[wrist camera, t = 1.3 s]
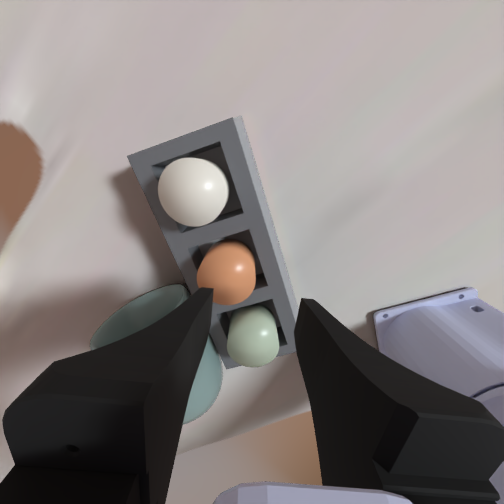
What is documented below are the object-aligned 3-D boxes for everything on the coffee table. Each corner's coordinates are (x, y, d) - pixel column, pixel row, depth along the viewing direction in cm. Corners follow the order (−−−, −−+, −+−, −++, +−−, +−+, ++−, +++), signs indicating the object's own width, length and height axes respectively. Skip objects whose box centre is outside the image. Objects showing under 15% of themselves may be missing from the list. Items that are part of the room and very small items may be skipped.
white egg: (218, 150, 16) (211, 147, 13) (237, 207, 17) (234, 215, 14) (164, 169, 16) (146, 170, 14) (187, 223, 18) (174, 234, 15)
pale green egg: (268, 297, 20) (270, 319, 17) (280, 334, 21) (285, 360, 18) (223, 309, 20) (219, 333, 18) (238, 345, 22) (236, 372, 19)
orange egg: (245, 232, 18) (244, 244, 15) (261, 277, 19) (263, 296, 16) (197, 247, 18) (187, 262, 16) (215, 290, 20) (209, 311, 17)
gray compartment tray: (241, 117, 17) (239, 106, 14) (303, 326, 24) (311, 351, 21) (139, 154, 18) (115, 152, 15) (225, 347, 25) (221, 373, 22)
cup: (142, 458, 18) (63, 367, 15) (168, 376, 26) (118, 303, 22) (235, 425, 18) (174, 324, 15) (234, 352, 25) (193, 274, 22)
